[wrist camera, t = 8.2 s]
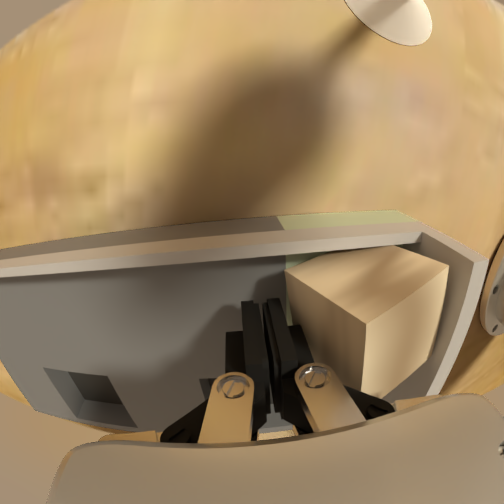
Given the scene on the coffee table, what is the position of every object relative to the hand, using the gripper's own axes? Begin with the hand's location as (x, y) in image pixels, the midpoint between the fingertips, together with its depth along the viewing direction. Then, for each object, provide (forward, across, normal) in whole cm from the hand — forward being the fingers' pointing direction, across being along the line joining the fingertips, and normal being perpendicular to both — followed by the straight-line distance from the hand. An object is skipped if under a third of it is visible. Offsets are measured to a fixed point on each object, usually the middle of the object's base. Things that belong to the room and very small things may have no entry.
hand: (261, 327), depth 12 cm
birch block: (0, -3, -1) cm, 4 cm away
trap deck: (+4, +7, +4) cm, 8 cm away
